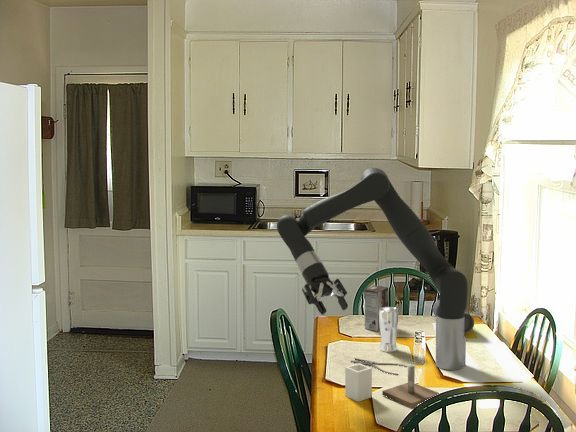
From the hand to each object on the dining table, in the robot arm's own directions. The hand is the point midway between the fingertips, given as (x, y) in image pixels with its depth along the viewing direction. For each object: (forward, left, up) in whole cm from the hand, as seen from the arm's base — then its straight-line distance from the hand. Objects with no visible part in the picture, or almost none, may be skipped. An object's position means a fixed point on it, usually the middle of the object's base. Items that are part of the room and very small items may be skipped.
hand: (335, 311), depth 214 cm
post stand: (-12, +21, -24) cm, 34 cm away
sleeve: (0, +11, -24) cm, 26 cm away
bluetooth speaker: (-76, -18, -24) cm, 82 cm away
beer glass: (-38, -15, -24) cm, 48 cm away
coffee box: (-54, -38, -24) cm, 71 cm away
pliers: (-22, -4, -25) cm, 33 cm away
